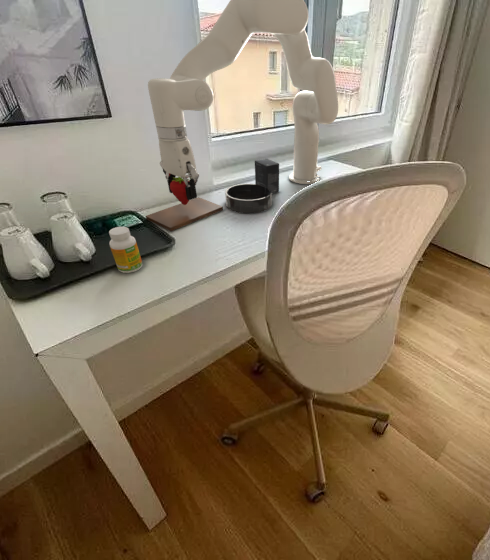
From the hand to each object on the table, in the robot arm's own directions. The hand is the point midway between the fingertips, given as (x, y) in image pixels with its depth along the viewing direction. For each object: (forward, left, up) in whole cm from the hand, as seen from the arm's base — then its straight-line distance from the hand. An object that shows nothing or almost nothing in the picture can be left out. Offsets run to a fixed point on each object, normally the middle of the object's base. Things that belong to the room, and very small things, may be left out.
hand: (183, 194), depth 97 cm
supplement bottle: (+27, +14, -7) cm, 31 cm away
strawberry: (0, 0, -3) cm, 3 cm away
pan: (-19, +9, -6) cm, 22 cm away
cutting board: (0, 0, -6) cm, 6 cm away
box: (-33, +5, -7) cm, 34 cm away
